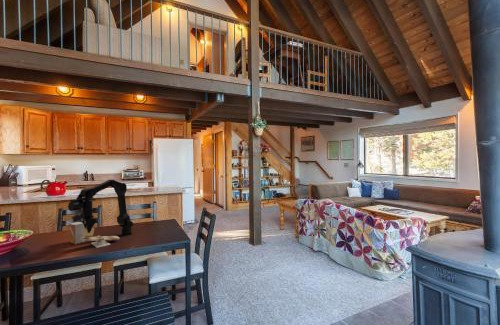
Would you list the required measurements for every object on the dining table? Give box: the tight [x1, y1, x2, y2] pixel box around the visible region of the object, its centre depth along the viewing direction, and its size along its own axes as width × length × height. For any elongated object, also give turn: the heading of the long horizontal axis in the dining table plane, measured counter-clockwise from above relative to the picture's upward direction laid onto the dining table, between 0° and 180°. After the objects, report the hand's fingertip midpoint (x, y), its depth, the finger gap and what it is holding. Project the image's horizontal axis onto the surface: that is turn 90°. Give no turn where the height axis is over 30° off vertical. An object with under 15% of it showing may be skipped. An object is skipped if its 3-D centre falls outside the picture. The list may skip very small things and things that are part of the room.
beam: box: [80, 235, 120, 242], centre depth 168 cm, size 22×7×1 cm, turn 137°
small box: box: [68, 221, 86, 245], centre depth 173 cm, size 8×6×13 cm
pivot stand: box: [91, 234, 111, 249], centre depth 168 cm, size 8×12×5 cm, turn 46°
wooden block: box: [82, 226, 95, 237], centre depth 162 cm, size 5×5×4 cm
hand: (87, 232), depth 162 cm, fingers closed on wooden block, 5 cm apart
